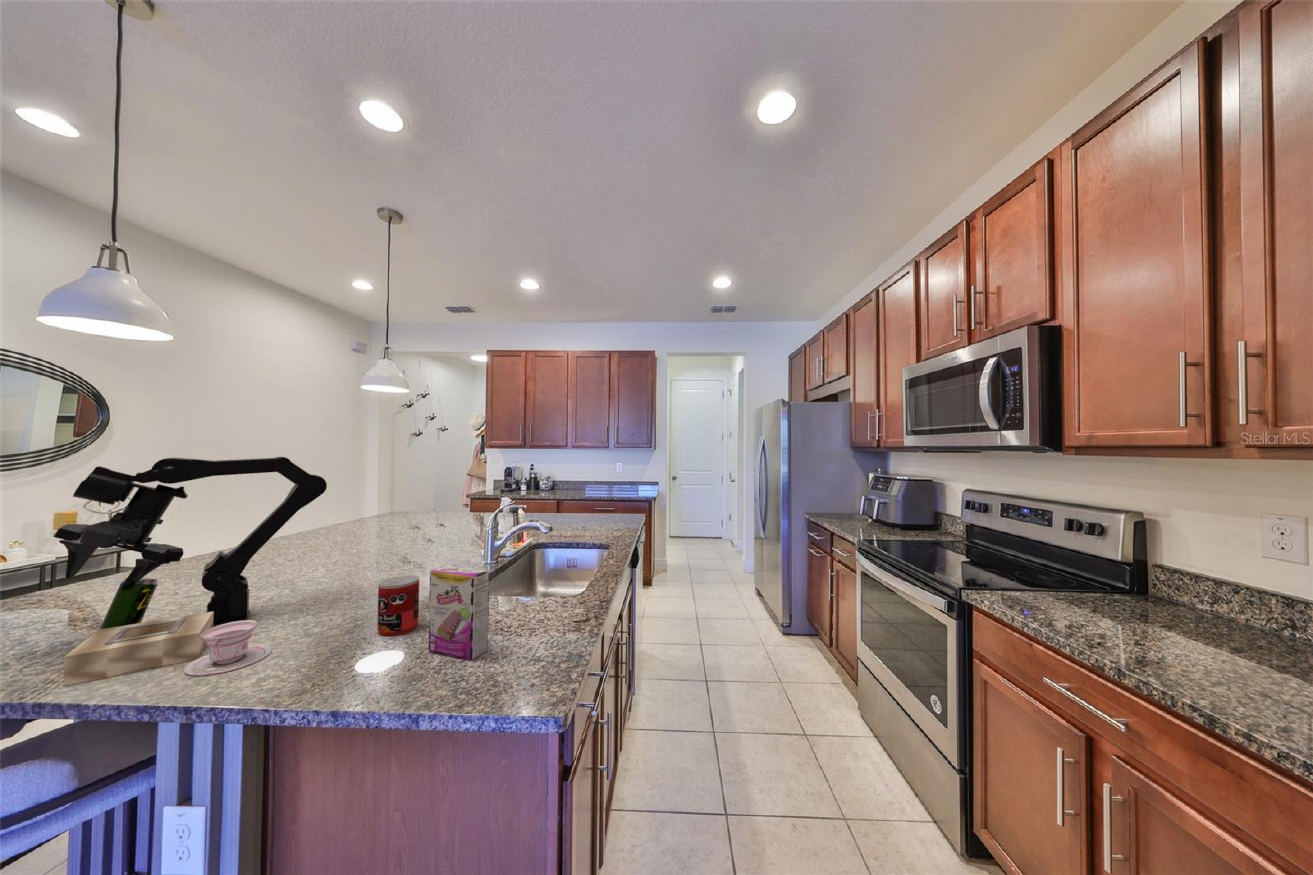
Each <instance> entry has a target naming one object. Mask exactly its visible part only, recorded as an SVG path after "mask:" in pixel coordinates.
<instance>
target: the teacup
mask: <svg viewBox="0 0 1313 875" xmlns="http://www.w3.org/2000/svg"><path fill="white" fill-rule="evenodd" d="M257 627H258V622H257V621H255V620H254V619H253V620H251V619H250V620H249V619H245V620H240V621H234V622H229V623H223V624H218V625H215V626H213V628H211V629H208V630H206V631H205V632H203V633H202V634H201V639H202V640H203V641H205V642H207V643H206V647H208V648H209V653H207V654H205V655H203V656H200V657H199V658H198V659H195V660H192V661H191V662H189V663H188V664H187V665H186V666H184V668H183V670H184V671H183V673H184V674H185V675H187V674H188V675H187V676H191V677H193V676H195V677H204V676H212V675H218V674H222V673H228V672H231V671H235V670H238V669H242V668H244V667H247V666H250V665H253V664H255V663H257V662H259V661H261V660H264V659H266V657H267V656H269V655H270V654H271V652H272V650H273V649H272V646H270V645H269V644H264V643H263V644H261V643H259V644H258V643H254V644H253V643H252V644H249V639H251V638H252V636H253V634H252V633H253V632H254V631H255V630H256V629H257ZM261 650H264V651H263V652H261ZM243 655H245V656H246V658H244V659H242V660H240V659H241V658H242V656H243ZM239 660H240V661H239ZM236 661H237V662H236ZM214 663H216V666H215V665H213V664H214ZM197 664H201V665H202V666H201V665H198V666H197V667H195V666H196V665H197ZM219 664H221V665H219ZM238 664H239V665H238ZM243 664H244V665H243ZM217 665H219V666H217ZM229 665H230V667H229ZM234 666H235V667H234ZM192 668H231V669H227V670H223V671H220V670H219V671H216V670H214V671H211V670H210V671H206V670H205V671H202V670H201V671H197V672H195V671H193V670H192Z"/></svg>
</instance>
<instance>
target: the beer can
mask: <svg viewBox="0 0 1313 875" xmlns="http://www.w3.org/2000/svg"><path fill="white" fill-rule="evenodd" d="M126 579H127V577H124V579H123V580H122V581H121V582H120V584H119V587H118V588H117V591H116V592H115V595H114V597H113V599H112V602H111V604H110V606H109V608H108V610H107V612H106V614H105V616H104V618H103V621H102V623H101V625H100V627H99V629H98V630H100V629H106V628H112V627H119V626H125V625H131V624H137V623H142V621H143V618H144V617H145V614H146V612H147V609H148V607H149V605H150V603H151V600H152V599H153V596H154V593H155V591H156V589H157V587H158V585H159V584H158V581H159V579H157V578H144V577H143V578H141V579H140V580H139V581H137V582H136V583H135V584H133V585H132V586H131V587H129V588H128V589H127V590H125V591H120V589H121V587H122V585H123V583H124V582H125V580H126Z"/></svg>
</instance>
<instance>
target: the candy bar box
mask: <svg viewBox="0 0 1313 875" xmlns="http://www.w3.org/2000/svg"><path fill="white" fill-rule="evenodd" d="M428 606H429V608H428V609H429V611H428V612H429V613H428V614H429V616H428V623H429V624H428V652H430V653H433V654H439V655H443V656H448V657H453V658H458V659H463V660H467V661H474V660H476V659H477V658H478V657H480V656H482V655H483V654H485V653H487V652H489V620H490V618H489V616H490V615H489V612H490V611H489V609H490V570H487V569H481V568H480V569H479V568H472V567H465V566H458V565H448V564H447V565H443V566H441V567H437V568H434V569H432V570H430V571H429V605H428Z"/></svg>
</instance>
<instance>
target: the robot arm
mask: <svg viewBox="0 0 1313 875" xmlns="http://www.w3.org/2000/svg"><path fill="white" fill-rule="evenodd" d="M266 473H278V474H279V475H281V476H283V477H284V478H286V479H287V480H288V481H289V482H292V483H293V484H294V485H293V486H292V487H291V489H290V491H289V492H288V494H287V495H286V497H285V499H284V500H283V501H282V502H281V503H280V504H279V505H278V506H277V507H276V508H275V509H274V510H273V511H272V512H271V513H270V514H269V515H268V516H267V517H266V518H265V519H264V520H263V521H262V522H260V524H259V525H258V526H257V527H256V528H254V529H253V531H252V532H250V533H249V534H248V535H247V536H246V537H245V538H244V539H243V540H242V541H241V542H240V543H239V544H238V545H236V547H235V548H233V549H231V550H230V551H228V552H227V553H225V552H223V551H222V550H220V551H218V553H217V554H216V555H215V557H214V558H213V559H212V560H211V561H210V562H208V563H206V564H204V568H203V572H202V576H201V585H202V587H203V589H205V590H206V591H208V592H212V593H213V594H212V595H211V597H210V601H208V603H207V605H206V612H212V611H214V619H213V626H218V625H222V624H226V623H230V622H235V621H243V620H248V617H249V615H250V614H251V610H250V588H249V582H248V578H247V577H245V576H243V575H242V574H243V572H244V570H245V569H246V567H247V566H248V564H249V562H250V561H251V559H252V558H253V557H254V556H255V554H257V553H258V552H259V550H261V549H262V548H263V546H265V544H267V543H268V541H270V540H271V538H272V537H274V535H276V533H277V532H279V531H280V530H281V528H283V527H284V526H285V524H286V523H288V522H289V521H290V519H291V518H292V517H293V516H294V515H295V514H296V513H297V512H298V511H299V510H301V509H303V508H304V507H306V506H307V505H309V504H311V503H312V502H314V501H315V500H316V499H317V498H319V497H320V496H321V495H323V494H325V492H326V491H327V488H328V487H327V485H328V484H327V481H326V479H324V478H323V477H321V476H320V475H316V474H313V473H312V474H310V473H309V472H307V471H306V470H304V469H303V468H301V467H300V466H299V465H297V464H296V463H294V462H292V461H291V460H290V458H287V457H285V456H277V457H267V458H266V457H265V458H263V457H261V458H244V459H243V458H242V459H223V460H222V459H219V460H218V459H217V460H216V459H215V460H210V459H198V458H185V457H168V458H167V457H166V458H162V459H160V460H158V461H156V462H155V463H154V464H153V466H152V467H151V469H149V470H146V471H144V472H141V471H139V472H137V473H136V474H135V475H132V474H129V473H128V474H127V473H124V472H120V471H117V470H112V469H110V468H108V467H105V466H100V465H99V466H96V467H95V468H93V470H92V471H91V472H90V474H88V475H87V477H86V478H85V479H84V480H82V481H81V482H80V483H79V485H78V486H77V488H76V489H75V491H74V492H73V494H72V497H73V498H78V499H83V500H86V501H91V502H92V501H93V502H95V503H100V504H107V505H111V506H114V505H115V504H116V503H119V502H123V503H125V502H126V500H127V499H128V498H129V497H130V495H131V494H132V492H133V491H134V489H135V488H138V489H136V491H135V493H134V494H133V496H132V498H131V499H130V501H129V502H128V504H127V505H126V506H125V508H124V509H123V511H122V512H120V511H117V512H116V513H115V514H113V516H112V517H111V518H110V519H109V520H104V521H100V522H97V523H92V524H86V523H85V524H82V523H78V524H77V523H67V524H64V525H62V526H60V527H58V529H57V530H56V531H55V533H54V534H53V535H52V537H53V538H55V539H58V542H59V544H61V545H64V547H65V548H66V549H67V561H66V562H67V563H66V570H65V577H64V578H65V579H69V580H71V579H73V578H74V577H75V576H76V575H77V574H78V573H79V572H80V571H81V569H82V568H83V566H85V564H86V563H87V562H88V560H90V558H91V557H92V556H93V554H94V553H95V551H96V550H97V549H98V548H99V549H110V548H113V547H117V548H120V549H125V550H129V551H133V552H135V553H136V552H137V553H139V554H140V555H141V557H142V558H135V564H134V567H133V569H131V572H130V574H129V575H128V576H127V577H126V578H127V579H126V580H125V579H124V580H125V582H124V583H123V585H122V587H121V589H120V591H125V590H127V589H128V588H129V587H131V586H132V585H133V584H135V583H136V582H137V581H139V580H140V579H141V578H144V577H145V576H147V575H148V574H150V573H151V572H153V571H154V570H156V569H157V568H159V567H160V566H162V565H168V564H170V563H172V562H173V563H174V562H175V563H176V562H180V560H181V559H182V558H183V556H184V549H183V547H179V546H174V545H170V544H166V543H154V544H153V543H152V544H148V543H151V541H152V539H153V537H150V536H151V533H153V531H154V529H155V528H156V526H157V525H162V524H163V523H164V519H162V517H163V515H164V514H165V512H166V511H167V509H168V508H169V506H170V504H171V503H172V502H173V500H174V499H175V498H180V499H182V500H183V499H187V498H188V496H189V495H188V493H186V491H185V486H178V487H172V486H169V485H172V484H178V483H183V482H189V481H194V480H200V479H204V478H209V477H213V476H214V477H218V476H231V475H249V474H266ZM135 482H136V483H135ZM153 482H159V483H161V484H159V483H158V484H157V485H156V487H153V486H148V485H144V484H148V483H149V484H150V483H153ZM139 483H140V484H139ZM167 484H168V485H167Z"/></svg>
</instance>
